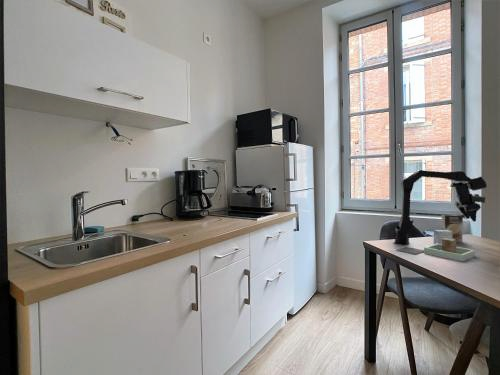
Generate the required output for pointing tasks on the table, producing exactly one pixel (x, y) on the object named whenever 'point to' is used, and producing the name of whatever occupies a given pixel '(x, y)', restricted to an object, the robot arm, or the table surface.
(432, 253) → the green square frame
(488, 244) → the table surface
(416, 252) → the mat
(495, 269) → the table surface
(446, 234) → the medicine box
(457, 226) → the coffee box
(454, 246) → the walnut block
